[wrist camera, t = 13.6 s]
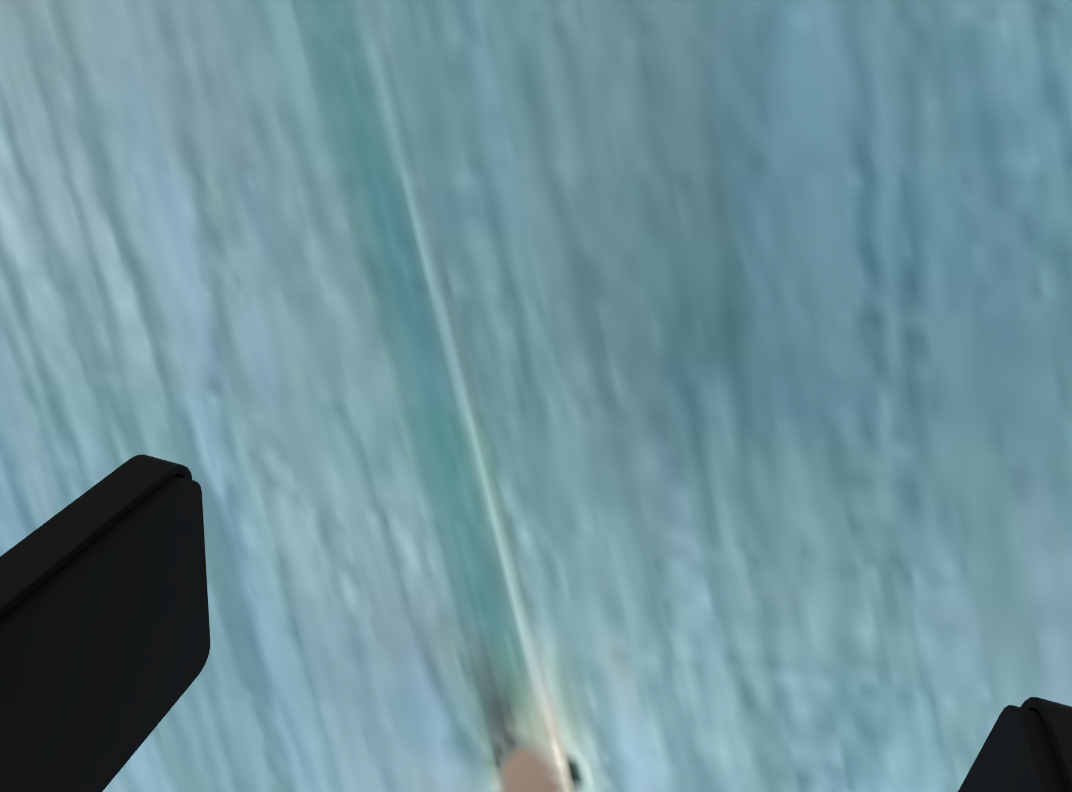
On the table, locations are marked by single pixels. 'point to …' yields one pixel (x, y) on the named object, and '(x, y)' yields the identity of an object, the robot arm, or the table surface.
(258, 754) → the table surface
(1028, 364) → the table surface
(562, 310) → the table surface
